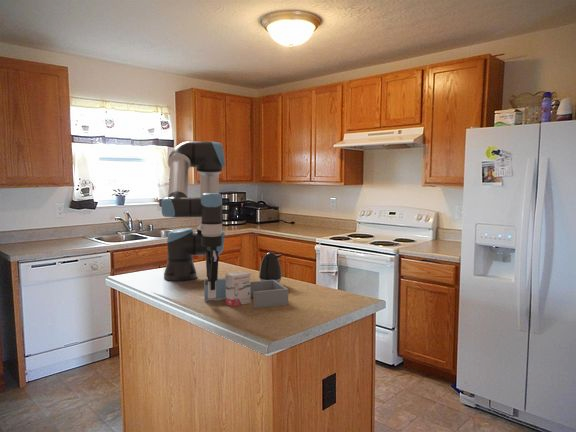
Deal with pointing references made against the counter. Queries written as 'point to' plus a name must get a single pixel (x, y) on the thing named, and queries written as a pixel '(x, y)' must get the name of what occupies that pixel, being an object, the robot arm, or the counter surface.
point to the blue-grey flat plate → (219, 289)
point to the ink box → (237, 288)
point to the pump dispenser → (270, 267)
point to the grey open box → (268, 293)
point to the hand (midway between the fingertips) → (212, 297)
